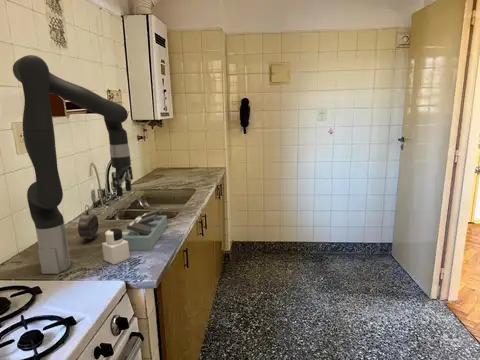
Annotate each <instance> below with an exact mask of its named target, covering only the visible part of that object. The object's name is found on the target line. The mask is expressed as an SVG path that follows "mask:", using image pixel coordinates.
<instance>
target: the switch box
mask: <svg viewBox="0 0 480 360" xmlns="http://www.w3.org/2000/svg"><path fill="white" fill-rule="evenodd" d="M142 216H143V215H138V216H137V217H136V218H135V219H134V220H132V221H133V222H137V221H138V220H140V219H142V218H141V217H142ZM144 225H147V226H150V227H152V229H151V231H150V232H149V234H148V235H146V234H143V233H139V232H136V231H132V230H129V229H127V227H126V228H124V229H123V230H122V236H123V240H125V241H128V246H129V251H151V250H153V248H154V246H155V245H156V244H157V242H158V241H159V240H160V238H161V236H162V235H163V234H164V232H165V230H166V229H167V228H168V216H167V215H157V218H156V220H155V221H153V222H150V223H147V224H144Z"/></svg>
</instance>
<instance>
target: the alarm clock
mask: <svg viewBox="0 0 480 360" xmlns="http://www.w3.org/2000/svg"><path fill="white" fill-rule="evenodd" d="M89 207H90V206H89V205H88V204H85V206H84V211H85V213H82V215H81V216H80V219H79V221H78V225H77V226H78V227H77V231H78V235H79V237H80V238H81V239H83V244H85V243H86V241H87V239H93V238H94V240H97V238H96V235H97V233H98V231H99V220H98V219H99V218H98V217H97V215H96V214H95V213H89V211H90V210H89Z"/></svg>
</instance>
